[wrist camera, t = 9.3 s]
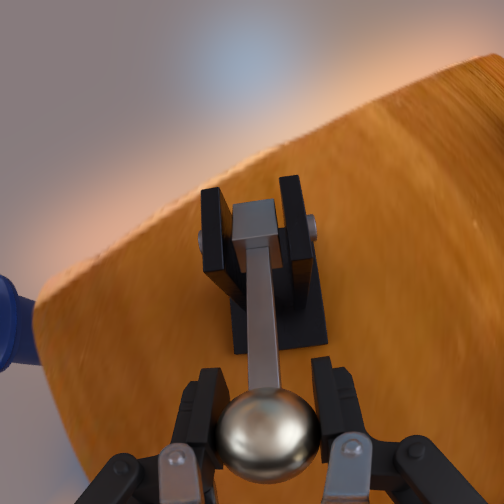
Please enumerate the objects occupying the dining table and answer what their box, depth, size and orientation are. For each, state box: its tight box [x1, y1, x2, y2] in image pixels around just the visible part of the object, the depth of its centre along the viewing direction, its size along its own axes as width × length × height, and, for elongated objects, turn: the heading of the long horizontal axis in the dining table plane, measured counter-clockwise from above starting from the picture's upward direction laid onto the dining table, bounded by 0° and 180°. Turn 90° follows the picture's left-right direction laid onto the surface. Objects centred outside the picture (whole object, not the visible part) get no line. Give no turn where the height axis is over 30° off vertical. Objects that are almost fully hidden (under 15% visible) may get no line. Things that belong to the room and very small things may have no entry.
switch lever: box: [215, 199, 321, 484], centre depth 13 cm, size 13×4×4 cm, turn 5°
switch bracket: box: [198, 175, 328, 355], centre depth 22 cm, size 11×8×15 cm
